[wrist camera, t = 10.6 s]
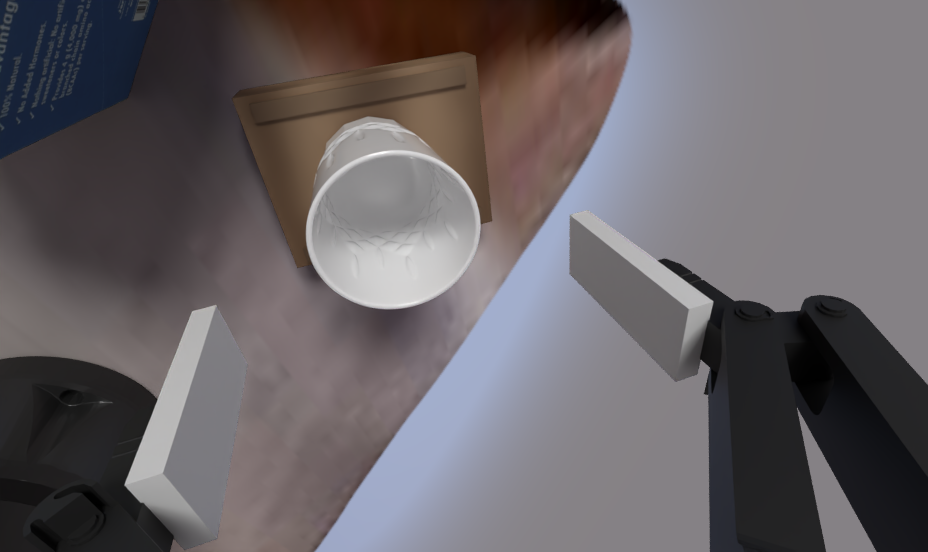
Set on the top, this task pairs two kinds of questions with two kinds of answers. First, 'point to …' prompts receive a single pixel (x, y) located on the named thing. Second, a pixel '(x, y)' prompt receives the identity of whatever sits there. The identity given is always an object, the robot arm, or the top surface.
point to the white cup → (389, 217)
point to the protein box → (65, 62)
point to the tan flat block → (352, 98)
